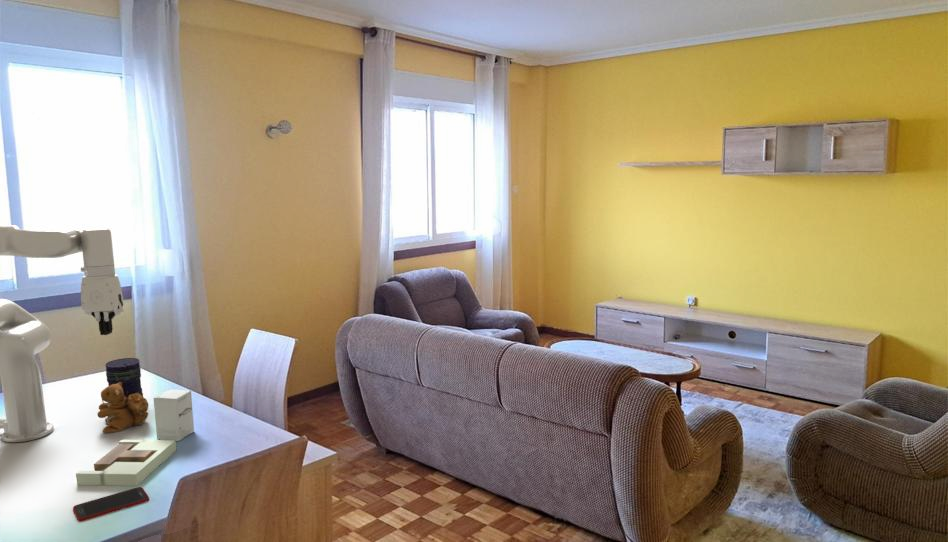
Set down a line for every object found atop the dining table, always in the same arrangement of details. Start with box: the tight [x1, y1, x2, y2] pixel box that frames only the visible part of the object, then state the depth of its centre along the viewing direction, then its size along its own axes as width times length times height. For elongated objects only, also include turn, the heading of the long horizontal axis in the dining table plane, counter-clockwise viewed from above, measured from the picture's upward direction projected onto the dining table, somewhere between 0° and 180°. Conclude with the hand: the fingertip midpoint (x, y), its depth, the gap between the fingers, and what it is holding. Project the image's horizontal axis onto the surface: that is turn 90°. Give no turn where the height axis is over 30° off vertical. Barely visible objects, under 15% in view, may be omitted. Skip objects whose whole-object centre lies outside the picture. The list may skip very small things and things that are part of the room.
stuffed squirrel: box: [97, 382, 149, 434], centre depth 201 cm, size 10×14×13 cm
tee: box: [93, 443, 153, 471], centre depth 175 cm, size 11×12×4 cm
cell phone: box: [72, 486, 150, 522], centre depth 156 cm, size 8×15×1 cm, turn 129°
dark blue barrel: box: [105, 357, 144, 398], centre depth 216 cm, size 10×10×15 cm
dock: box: [75, 439, 177, 487], centre depth 175 cm, size 15×20×3 cm
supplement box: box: [153, 389, 195, 442], centre depth 193 cm, size 7×7×13 cm
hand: (106, 333), depth 194 cm, fingers closed
